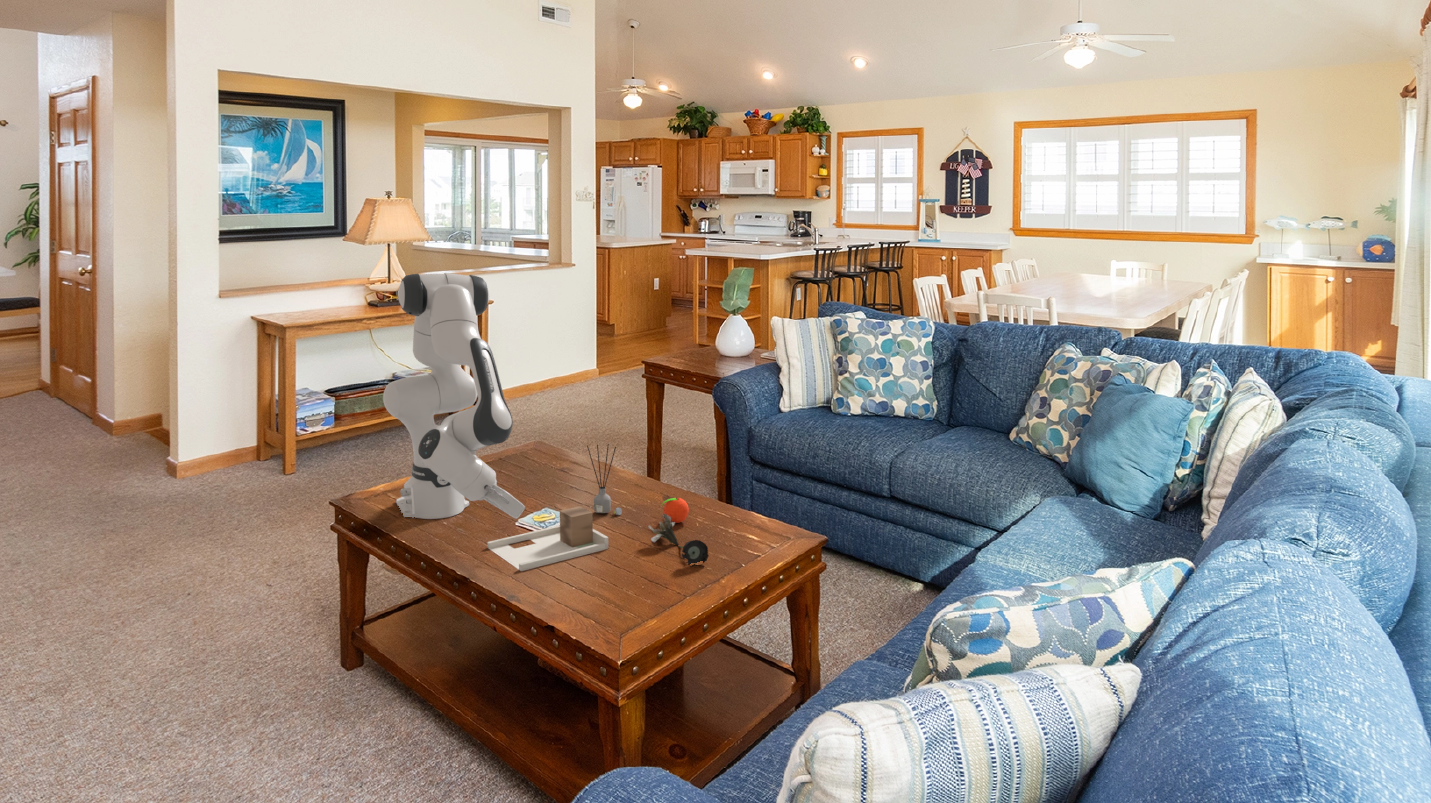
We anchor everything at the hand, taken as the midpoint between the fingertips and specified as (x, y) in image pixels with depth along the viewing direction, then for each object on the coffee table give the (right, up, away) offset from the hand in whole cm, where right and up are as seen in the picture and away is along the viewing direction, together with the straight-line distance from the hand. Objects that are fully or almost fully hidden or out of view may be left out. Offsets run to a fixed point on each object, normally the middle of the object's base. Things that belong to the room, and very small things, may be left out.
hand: (516, 513), depth 221 cm
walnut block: (+13, -9, +12) cm, 20 cm away
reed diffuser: (+17, -5, +39) cm, 42 cm away
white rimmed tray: (+6, -11, +8) cm, 15 cm away
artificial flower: (+38, -11, +12) cm, 41 cm away
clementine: (+37, -7, +32) cm, 49 cm away
